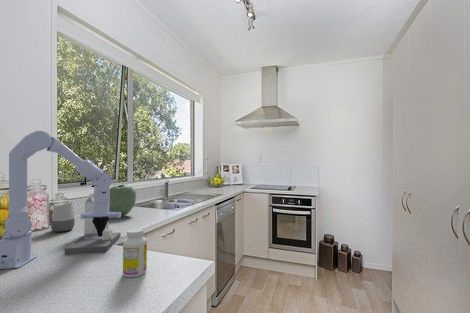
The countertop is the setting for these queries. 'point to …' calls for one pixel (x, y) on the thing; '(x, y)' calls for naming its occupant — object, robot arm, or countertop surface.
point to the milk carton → (88, 223)
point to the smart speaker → (63, 217)
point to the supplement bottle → (134, 253)
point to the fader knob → (107, 234)
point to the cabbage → (122, 199)
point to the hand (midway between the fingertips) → (100, 235)
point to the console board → (91, 244)
